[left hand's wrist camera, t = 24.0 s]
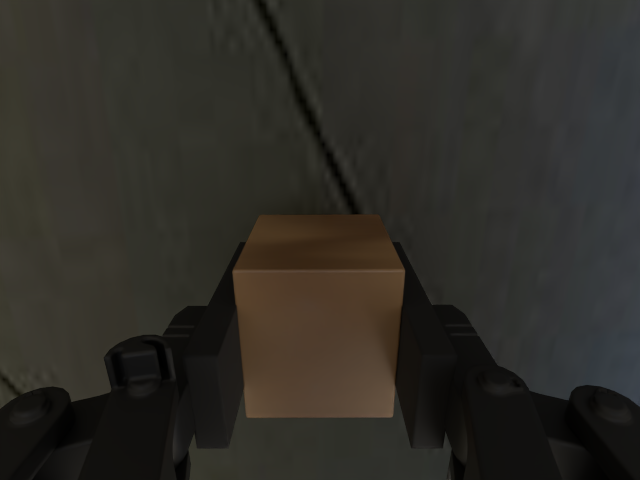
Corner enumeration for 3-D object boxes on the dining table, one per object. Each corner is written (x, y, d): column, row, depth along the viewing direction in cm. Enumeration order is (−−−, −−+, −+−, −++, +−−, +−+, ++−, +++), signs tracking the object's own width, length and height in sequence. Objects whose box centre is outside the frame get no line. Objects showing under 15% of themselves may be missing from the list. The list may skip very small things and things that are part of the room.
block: (379, 213, 14) (405, 269, 10) (373, 327, 16) (393, 418, 12) (258, 214, 14) (231, 269, 10) (266, 328, 16) (245, 418, 12)
